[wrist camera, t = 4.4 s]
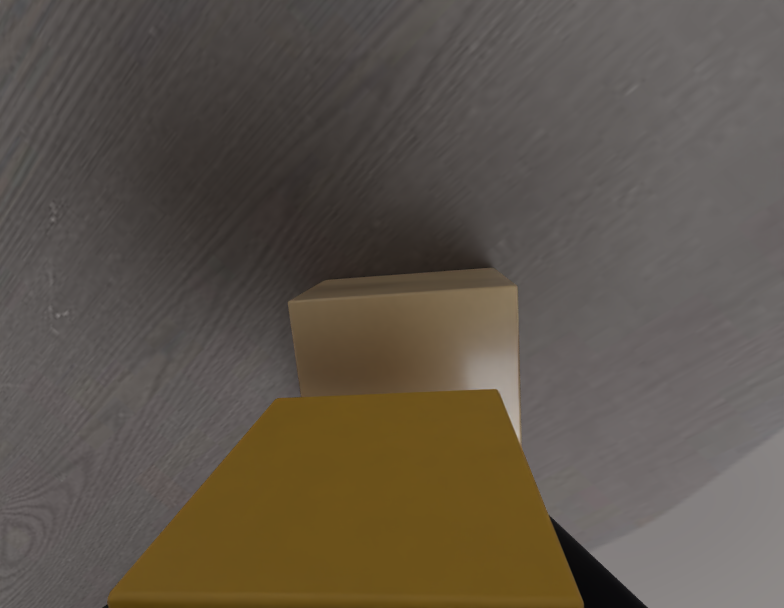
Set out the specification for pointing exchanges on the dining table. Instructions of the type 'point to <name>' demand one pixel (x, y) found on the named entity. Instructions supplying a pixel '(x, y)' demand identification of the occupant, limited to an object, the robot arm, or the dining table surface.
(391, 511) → the mustard cube
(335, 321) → the birch block
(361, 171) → the dining table surface
